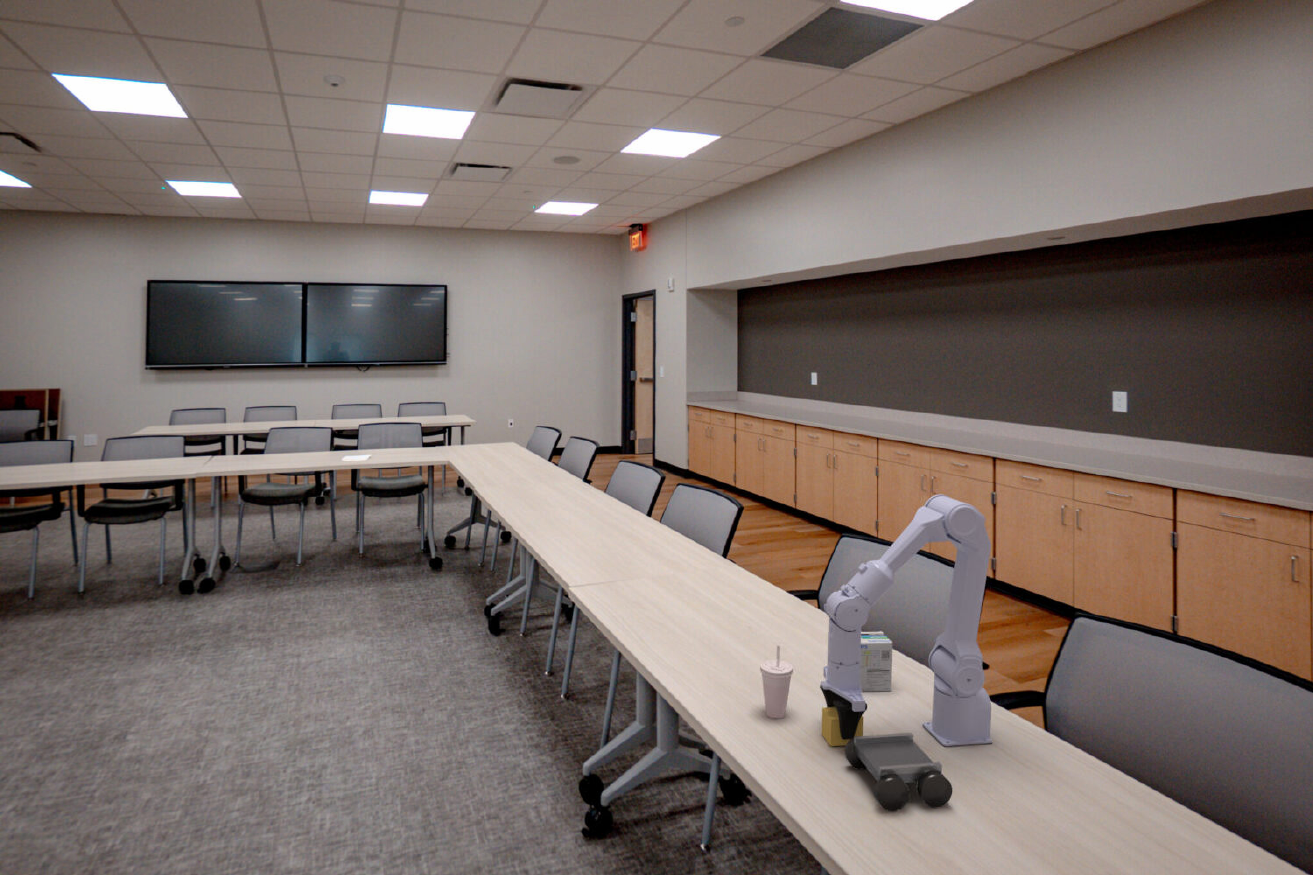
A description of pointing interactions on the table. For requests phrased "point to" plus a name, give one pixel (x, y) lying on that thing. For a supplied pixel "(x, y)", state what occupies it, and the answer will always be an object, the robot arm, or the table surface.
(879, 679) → the light bulb box
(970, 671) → the robot arm
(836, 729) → the yellow block
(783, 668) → the smoothie
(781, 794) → the table surface
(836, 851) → the table surface
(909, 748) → the trolley
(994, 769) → the table surface
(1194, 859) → the table surface
